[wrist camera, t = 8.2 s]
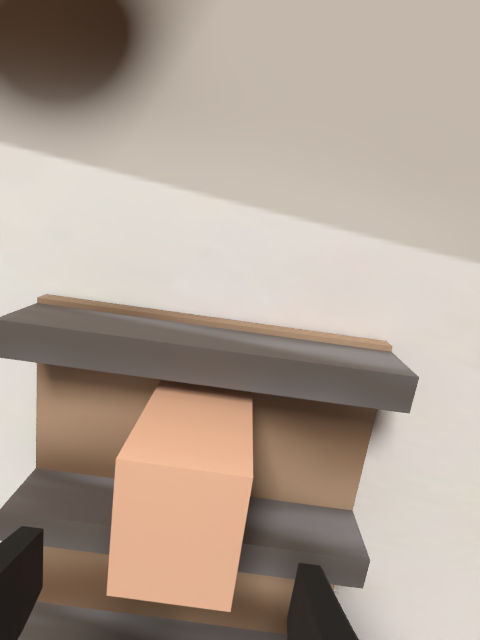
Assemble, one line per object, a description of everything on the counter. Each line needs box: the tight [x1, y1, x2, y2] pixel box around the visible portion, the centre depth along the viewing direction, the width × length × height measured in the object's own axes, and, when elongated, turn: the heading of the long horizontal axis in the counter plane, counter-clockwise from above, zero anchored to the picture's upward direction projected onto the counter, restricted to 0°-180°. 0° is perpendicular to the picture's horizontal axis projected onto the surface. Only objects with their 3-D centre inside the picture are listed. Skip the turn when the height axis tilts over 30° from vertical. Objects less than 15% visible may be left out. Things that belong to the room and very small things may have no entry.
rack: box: [0, 294, 419, 640], centre depth 19 cm, size 19×16×4 cm
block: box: [107, 380, 253, 612], centre depth 15 cm, size 5×4×7 cm
